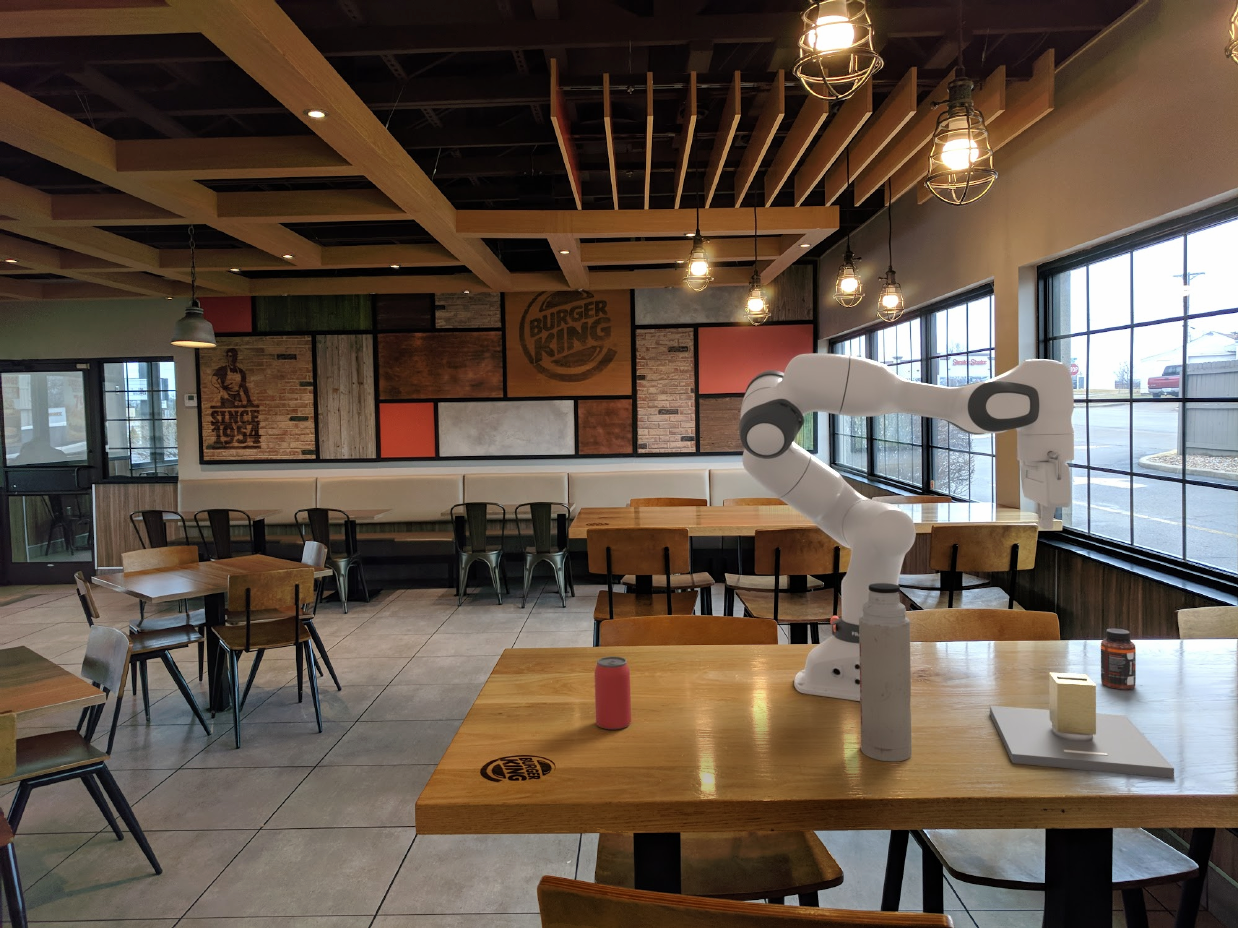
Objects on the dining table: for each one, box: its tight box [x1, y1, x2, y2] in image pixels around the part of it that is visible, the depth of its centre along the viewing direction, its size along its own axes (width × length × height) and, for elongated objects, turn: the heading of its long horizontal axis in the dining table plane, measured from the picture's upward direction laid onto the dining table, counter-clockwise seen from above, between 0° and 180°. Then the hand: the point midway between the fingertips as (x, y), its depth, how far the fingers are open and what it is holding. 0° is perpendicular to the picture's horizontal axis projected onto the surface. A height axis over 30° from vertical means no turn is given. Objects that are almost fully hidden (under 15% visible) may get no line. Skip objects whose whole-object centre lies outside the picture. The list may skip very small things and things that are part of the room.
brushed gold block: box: [1048, 672, 1097, 735], centre depth 129 cm, size 6×6×8 cm
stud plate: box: [989, 705, 1175, 779], centre depth 129 cm, size 22×22×10 cm
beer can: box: [594, 656, 632, 731], centre depth 143 cm, size 7×7×12 cm
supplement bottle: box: [1100, 628, 1137, 690], centre depth 156 cm, size 6×6×11 cm
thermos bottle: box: [859, 583, 913, 763], centre depth 127 cm, size 8×8×28 cm
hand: (1045, 528), depth 137 cm, fingers closed
